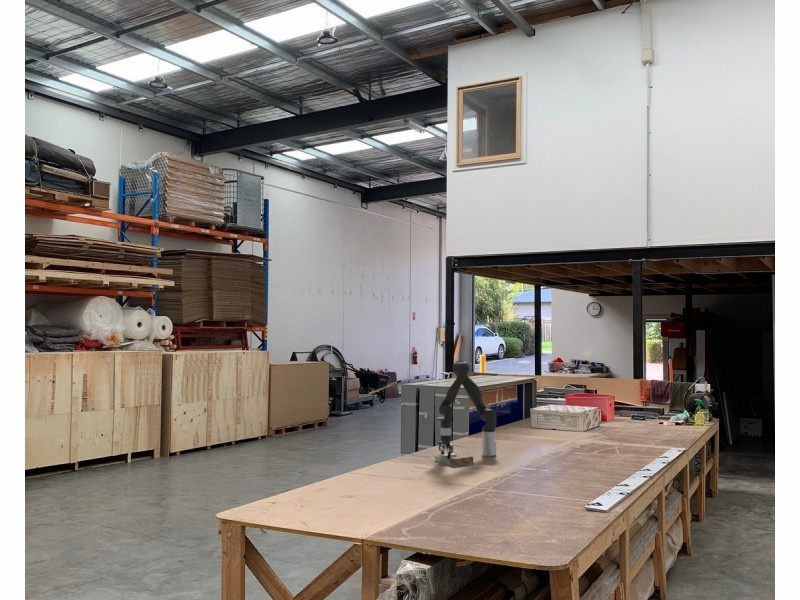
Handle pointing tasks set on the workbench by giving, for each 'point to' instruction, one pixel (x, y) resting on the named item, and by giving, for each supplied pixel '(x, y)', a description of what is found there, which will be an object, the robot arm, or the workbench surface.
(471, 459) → the walnut board
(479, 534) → the workbench surface
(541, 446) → the workbench surface
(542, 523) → the workbench surface
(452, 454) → the plank
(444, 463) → the base
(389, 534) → the workbench surface
